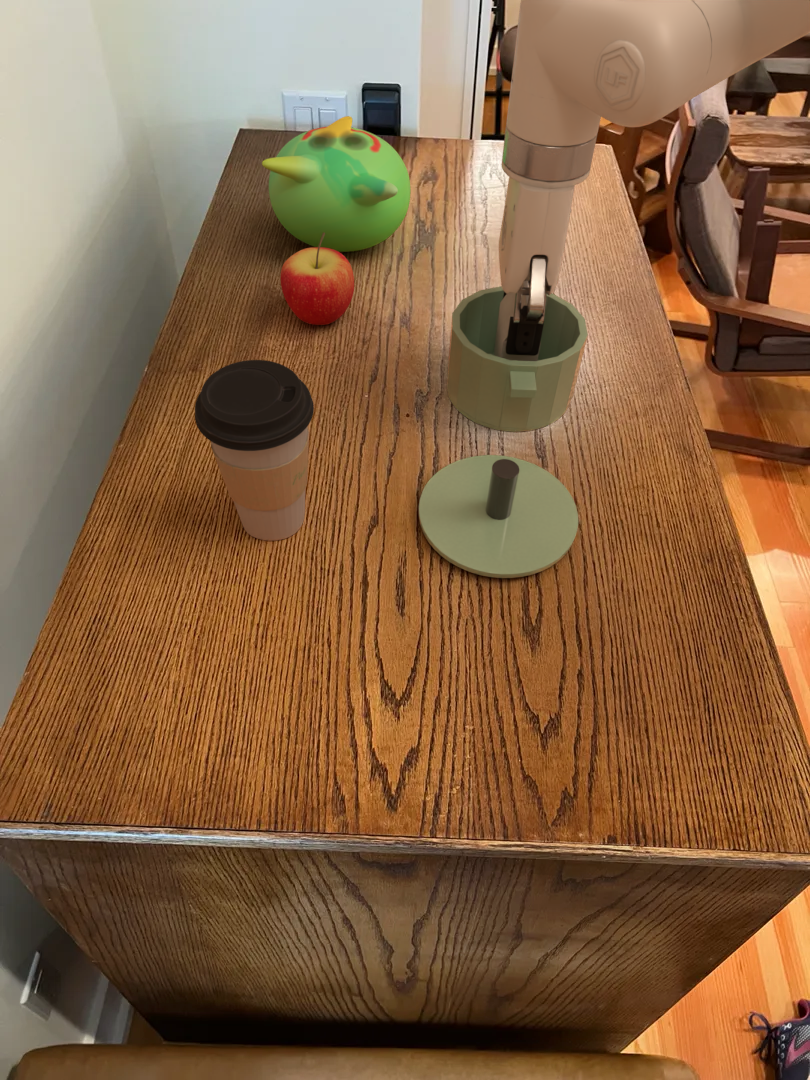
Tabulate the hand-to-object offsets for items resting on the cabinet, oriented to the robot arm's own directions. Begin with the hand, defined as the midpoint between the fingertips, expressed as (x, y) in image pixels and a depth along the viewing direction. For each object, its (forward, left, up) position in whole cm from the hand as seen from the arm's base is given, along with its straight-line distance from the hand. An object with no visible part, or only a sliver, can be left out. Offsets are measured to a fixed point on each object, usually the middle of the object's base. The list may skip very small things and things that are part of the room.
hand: (519, 329), depth 78 cm
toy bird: (+21, -29, -8) cm, 37 cm away
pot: (0, 0, -8) cm, 8 cm away
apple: (+22, -12, -8) cm, 26 cm away
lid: (+2, +19, -7) cm, 20 cm away
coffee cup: (+23, +20, -8) cm, 32 cm away
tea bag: (0, 0, -5) cm, 5 cm away
